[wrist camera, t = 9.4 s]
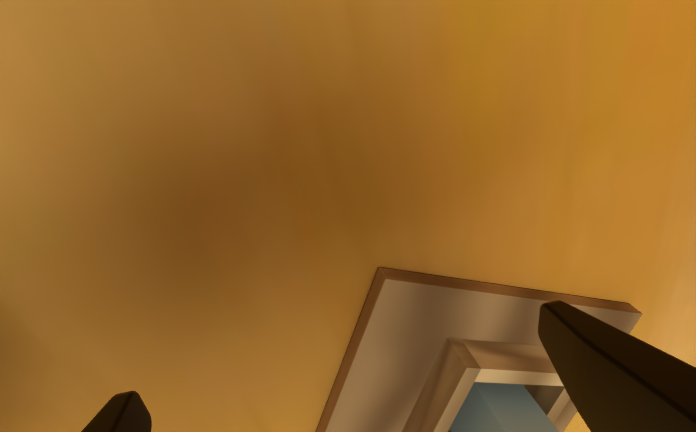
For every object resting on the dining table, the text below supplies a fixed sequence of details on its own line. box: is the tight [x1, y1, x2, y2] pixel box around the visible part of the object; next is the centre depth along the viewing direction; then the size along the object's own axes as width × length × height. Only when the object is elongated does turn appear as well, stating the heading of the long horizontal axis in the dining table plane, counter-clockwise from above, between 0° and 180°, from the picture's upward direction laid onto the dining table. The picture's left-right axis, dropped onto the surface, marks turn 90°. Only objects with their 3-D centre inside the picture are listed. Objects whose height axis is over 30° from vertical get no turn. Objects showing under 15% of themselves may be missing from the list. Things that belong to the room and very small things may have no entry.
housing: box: [316, 267, 642, 432], centre depth 29 cm, size 20×16×4 cm
